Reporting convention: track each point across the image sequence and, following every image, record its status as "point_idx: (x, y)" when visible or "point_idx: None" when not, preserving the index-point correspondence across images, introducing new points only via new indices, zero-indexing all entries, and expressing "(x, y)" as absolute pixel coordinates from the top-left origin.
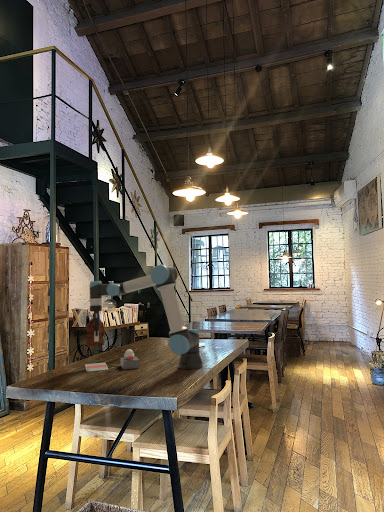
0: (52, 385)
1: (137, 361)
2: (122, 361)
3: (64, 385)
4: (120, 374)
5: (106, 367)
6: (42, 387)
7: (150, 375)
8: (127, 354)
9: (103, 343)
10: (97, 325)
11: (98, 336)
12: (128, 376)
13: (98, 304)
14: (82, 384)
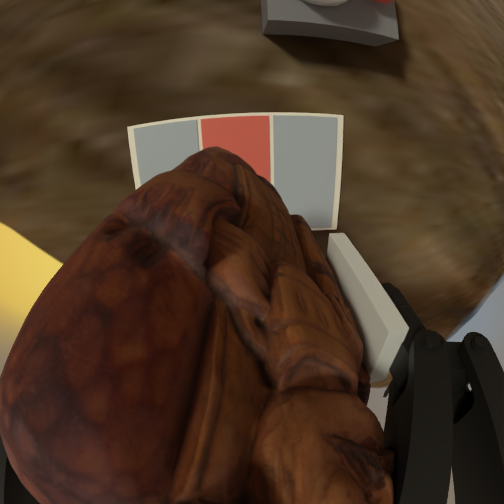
0: (448, 315)
1: None
2: (371, 34)
3: (468, 288)
4: (458, 96)
5: (295, 119)
6: (446, 331)
7: (492, 22)
8: None
9: (233, 156)
10: (498, 410)
11: (366, 270)
12: (488, 85)
13: None
14: (490, 243)
